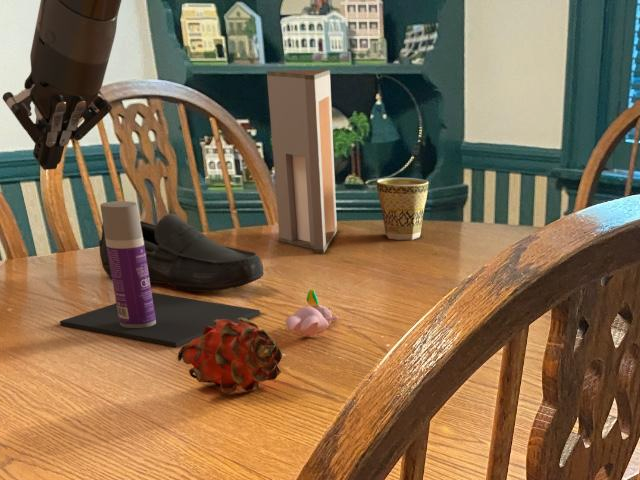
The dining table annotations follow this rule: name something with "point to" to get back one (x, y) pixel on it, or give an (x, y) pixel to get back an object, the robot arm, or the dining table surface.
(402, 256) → the dining table surface
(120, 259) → the container
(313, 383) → the dining table surface
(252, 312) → the mat
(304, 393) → the dining table surface
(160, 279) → the loafer
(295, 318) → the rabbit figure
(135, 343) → the dining table surface
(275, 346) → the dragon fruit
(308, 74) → the cabinet
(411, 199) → the ceramic cup
